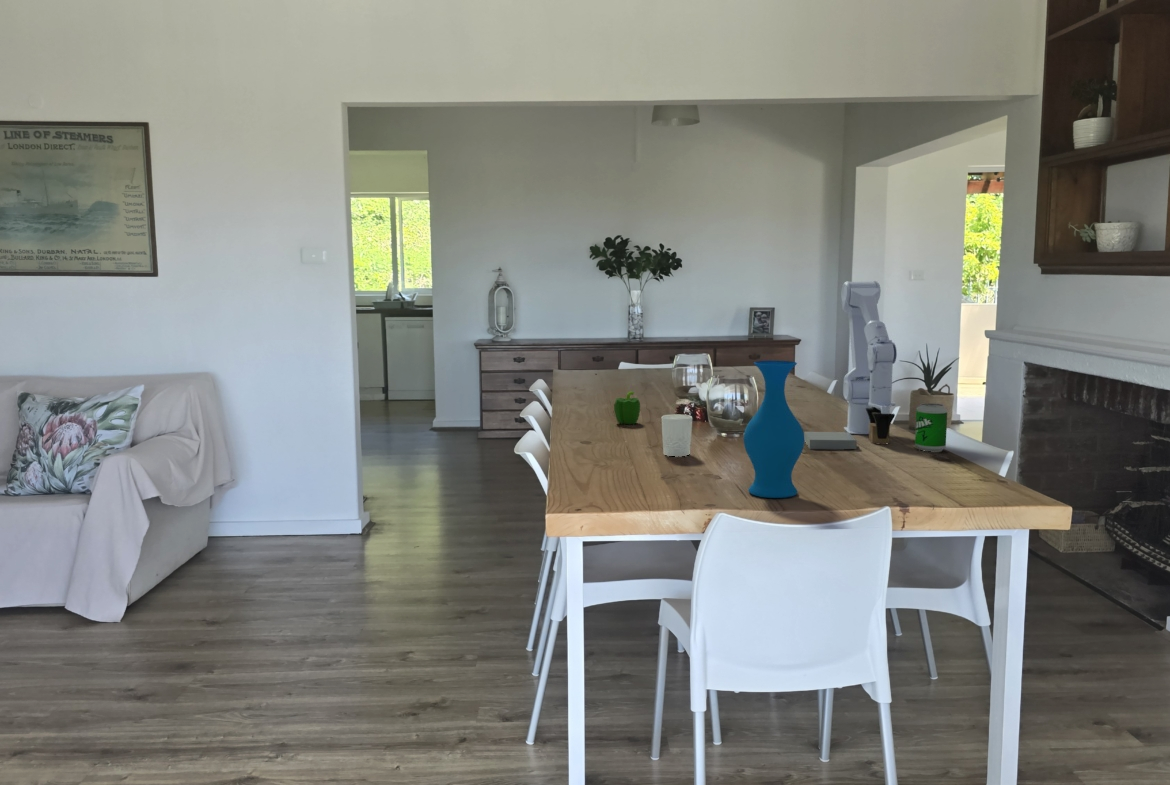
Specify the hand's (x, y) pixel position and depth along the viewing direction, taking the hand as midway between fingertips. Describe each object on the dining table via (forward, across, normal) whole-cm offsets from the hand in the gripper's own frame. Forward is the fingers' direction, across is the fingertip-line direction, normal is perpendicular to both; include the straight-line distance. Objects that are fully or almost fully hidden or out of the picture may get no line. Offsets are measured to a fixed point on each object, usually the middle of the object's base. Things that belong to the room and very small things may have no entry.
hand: (879, 436), depth 240 cm
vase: (+2, -60, +34) cm, 69 cm away
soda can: (+2, -10, -11) cm, 15 cm away
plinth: (+2, -5, +14) cm, 15 cm away
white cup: (+2, -21, +55) cm, 59 cm away
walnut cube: (+2, 0, 0) cm, 2 cm away
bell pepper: (+2, +26, +71) cm, 76 cm away
